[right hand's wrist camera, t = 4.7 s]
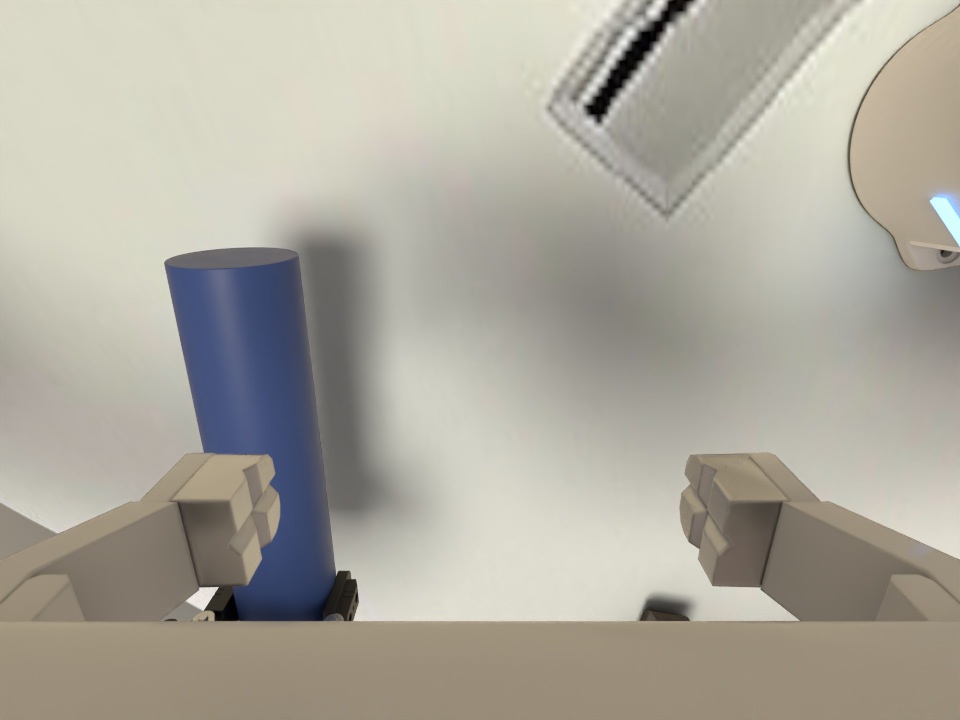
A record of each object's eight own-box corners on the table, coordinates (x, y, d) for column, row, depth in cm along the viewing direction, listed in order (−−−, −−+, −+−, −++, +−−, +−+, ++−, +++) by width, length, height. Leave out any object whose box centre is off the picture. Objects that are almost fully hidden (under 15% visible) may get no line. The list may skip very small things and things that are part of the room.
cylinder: (204, 246, 29) (134, 268, 23) (314, 247, 29) (270, 269, 23) (270, 609, 38) (231, 688, 32) (352, 611, 38) (328, 690, 32)
